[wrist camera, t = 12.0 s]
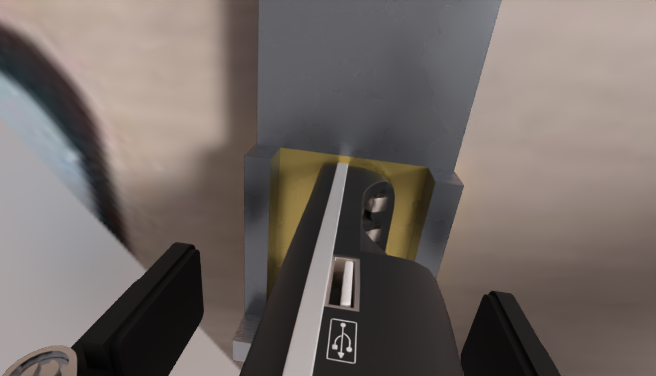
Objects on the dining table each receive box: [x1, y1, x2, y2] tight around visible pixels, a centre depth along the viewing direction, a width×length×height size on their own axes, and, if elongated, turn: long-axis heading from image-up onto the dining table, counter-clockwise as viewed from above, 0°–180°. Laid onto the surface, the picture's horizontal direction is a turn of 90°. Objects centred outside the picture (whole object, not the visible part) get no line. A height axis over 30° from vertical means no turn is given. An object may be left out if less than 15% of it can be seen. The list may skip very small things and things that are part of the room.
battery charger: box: [239, 162, 463, 376], centre depth 9 cm, size 7×4×11 cm, turn 174°
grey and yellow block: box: [233, 0, 502, 362], centre depth 12 cm, size 8×20×5 cm, turn 174°
